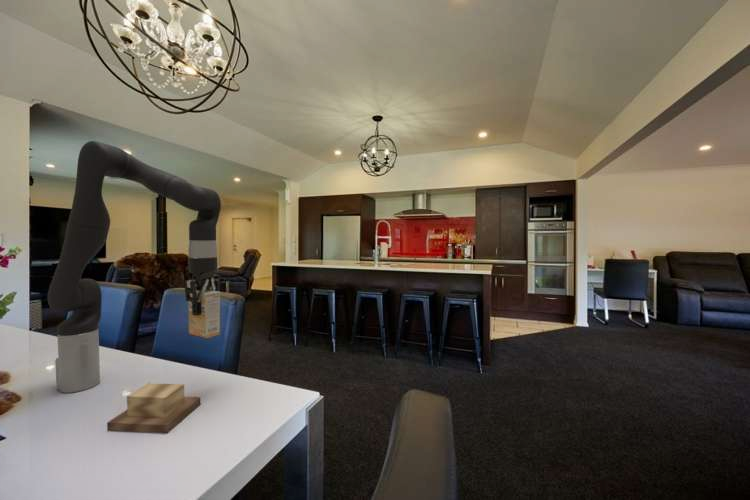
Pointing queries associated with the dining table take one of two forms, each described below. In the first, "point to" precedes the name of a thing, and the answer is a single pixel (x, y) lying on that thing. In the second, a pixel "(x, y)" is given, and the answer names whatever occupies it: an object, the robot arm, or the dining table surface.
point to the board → (153, 419)
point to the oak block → (155, 400)
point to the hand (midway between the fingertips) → (203, 312)
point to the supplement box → (206, 315)
